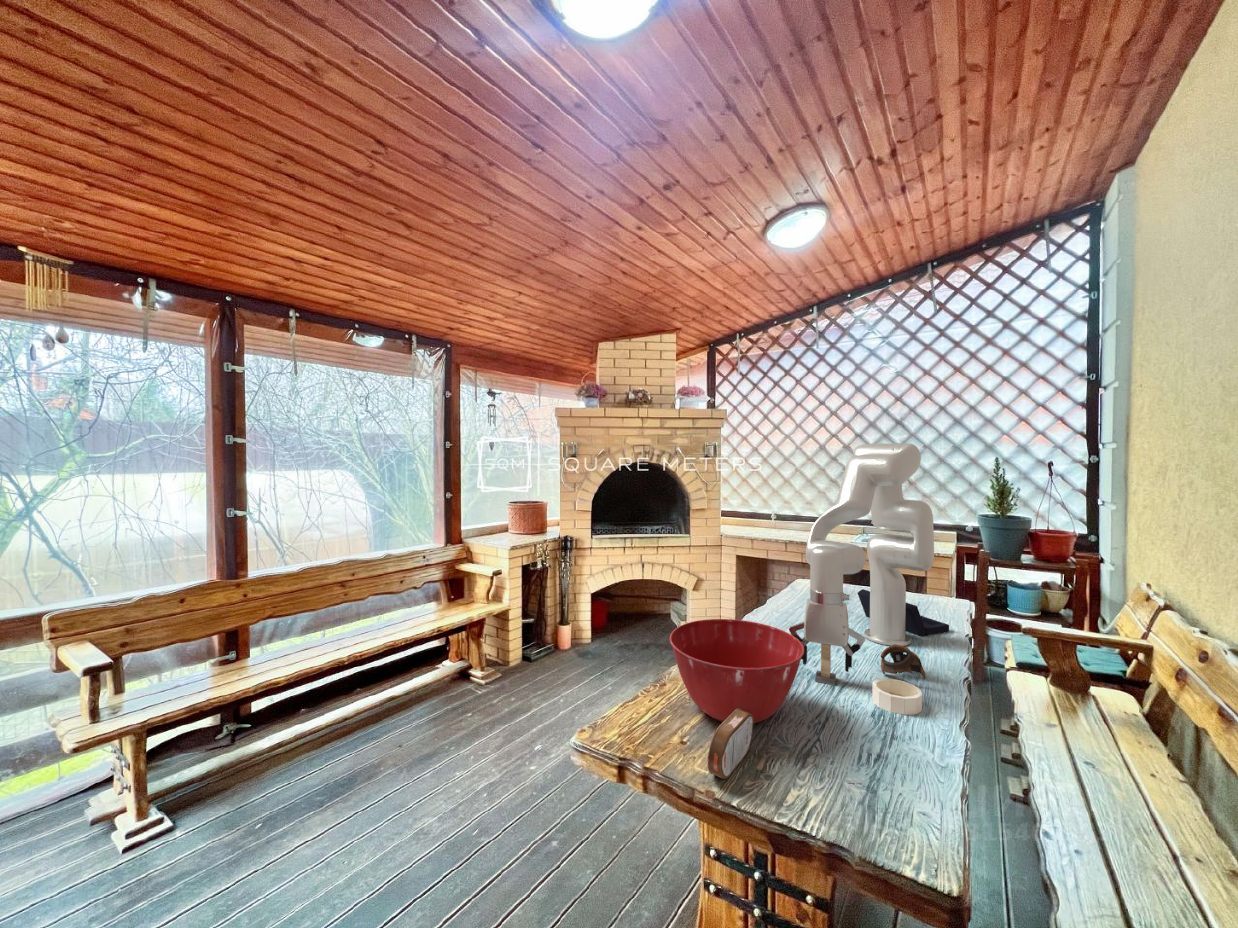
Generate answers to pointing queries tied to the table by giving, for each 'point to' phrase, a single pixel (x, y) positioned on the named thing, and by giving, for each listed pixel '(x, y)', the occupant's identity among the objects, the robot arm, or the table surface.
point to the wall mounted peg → (825, 667)
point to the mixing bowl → (736, 665)
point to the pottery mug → (901, 661)
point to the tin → (730, 743)
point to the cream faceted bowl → (897, 696)
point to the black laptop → (909, 618)
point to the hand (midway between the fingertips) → (825, 665)
